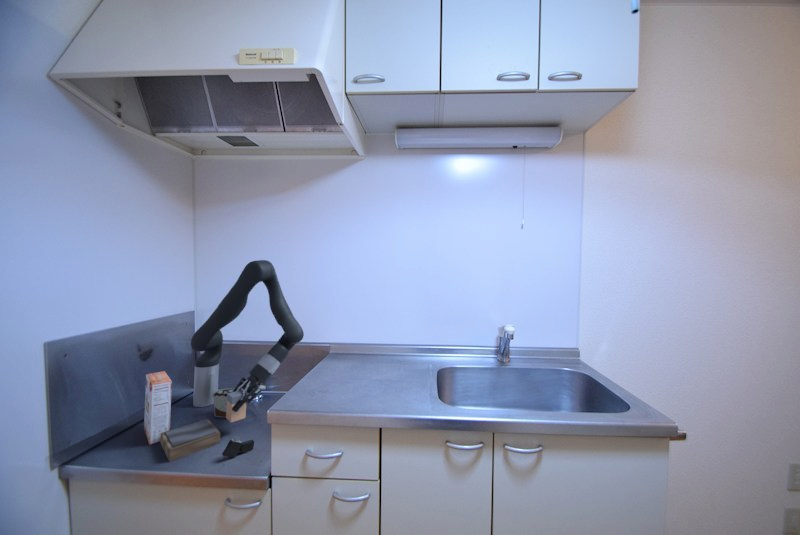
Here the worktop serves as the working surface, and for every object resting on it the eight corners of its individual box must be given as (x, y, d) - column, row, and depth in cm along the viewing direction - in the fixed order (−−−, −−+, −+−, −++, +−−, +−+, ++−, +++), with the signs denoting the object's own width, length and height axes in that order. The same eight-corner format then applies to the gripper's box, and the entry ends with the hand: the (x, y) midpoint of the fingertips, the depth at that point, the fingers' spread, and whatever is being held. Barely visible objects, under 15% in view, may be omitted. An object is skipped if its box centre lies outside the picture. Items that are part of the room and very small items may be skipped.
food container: (248, 411, 124) (249, 388, 124) (239, 418, 118) (240, 394, 118) (221, 409, 125) (222, 386, 126) (211, 416, 119) (212, 391, 119)
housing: (225, 417, 108) (227, 393, 108) (240, 413, 111) (241, 389, 112) (230, 422, 104) (232, 397, 104) (245, 417, 108) (246, 393, 108)
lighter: (244, 457, 98) (254, 439, 100) (247, 459, 96) (257, 441, 99) (220, 452, 92) (232, 433, 95) (223, 455, 91) (234, 436, 93)
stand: (160, 443, 100) (160, 431, 100) (207, 428, 110) (207, 417, 110) (169, 461, 90) (170, 448, 90) (219, 443, 101) (220, 431, 101)
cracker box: (142, 430, 107) (145, 373, 108) (163, 424, 112) (165, 370, 112) (147, 446, 98) (150, 384, 98) (169, 439, 102) (172, 379, 103)
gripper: (251, 358, 118) (216, 397, 109) (267, 367, 109) (230, 410, 100) (263, 369, 122) (231, 406, 113) (279, 378, 113) (245, 420, 104)
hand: (231, 408), depth 106 cm, fingers closed on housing, 5 cm apart
